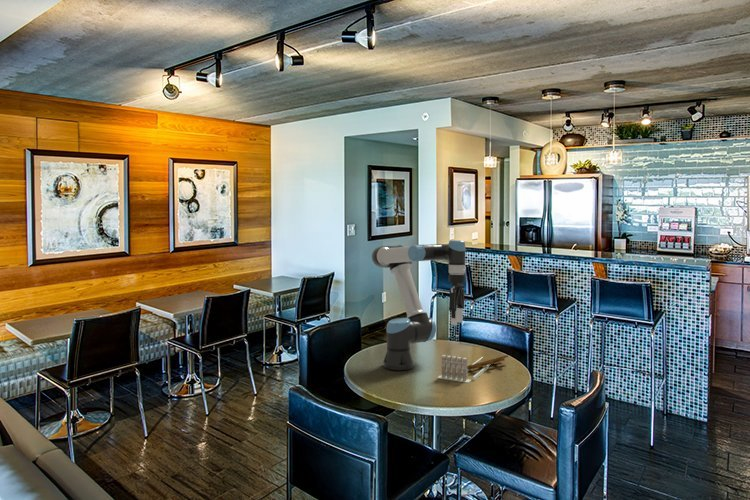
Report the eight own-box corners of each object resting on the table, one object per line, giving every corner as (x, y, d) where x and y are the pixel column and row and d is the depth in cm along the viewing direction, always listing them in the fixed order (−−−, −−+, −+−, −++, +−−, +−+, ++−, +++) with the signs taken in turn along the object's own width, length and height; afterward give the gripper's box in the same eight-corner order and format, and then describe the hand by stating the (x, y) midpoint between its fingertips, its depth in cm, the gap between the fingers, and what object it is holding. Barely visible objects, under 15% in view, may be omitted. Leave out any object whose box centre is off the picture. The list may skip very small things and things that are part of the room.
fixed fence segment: (466, 380, 224) (466, 358, 224) (441, 377, 230) (441, 355, 230) (467, 379, 226) (467, 357, 225) (442, 376, 232) (442, 354, 231)
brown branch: (463, 371, 241) (477, 367, 234) (462, 367, 242) (476, 363, 234) (498, 361, 256) (512, 357, 248) (496, 357, 256) (511, 354, 249)
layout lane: (458, 378, 229) (458, 374, 229) (482, 359, 261) (482, 356, 261) (474, 380, 225) (474, 377, 225) (496, 361, 258) (496, 358, 258)
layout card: (436, 378, 229) (436, 377, 229) (440, 375, 233) (440, 375, 233) (468, 382, 222) (468, 382, 222) (471, 380, 226) (471, 379, 226)
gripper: (457, 276, 218) (457, 328, 219) (471, 272, 235) (471, 320, 236) (441, 275, 222) (441, 326, 223) (456, 271, 239) (456, 319, 240)
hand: (456, 323), depth 229 cm, fingers open, 7 cm apart
